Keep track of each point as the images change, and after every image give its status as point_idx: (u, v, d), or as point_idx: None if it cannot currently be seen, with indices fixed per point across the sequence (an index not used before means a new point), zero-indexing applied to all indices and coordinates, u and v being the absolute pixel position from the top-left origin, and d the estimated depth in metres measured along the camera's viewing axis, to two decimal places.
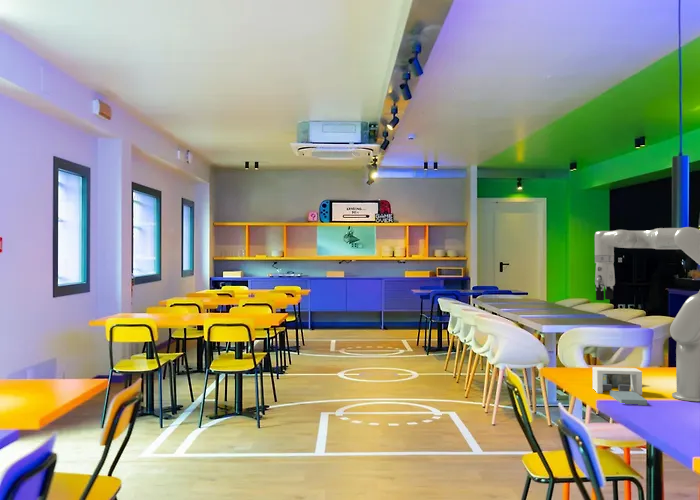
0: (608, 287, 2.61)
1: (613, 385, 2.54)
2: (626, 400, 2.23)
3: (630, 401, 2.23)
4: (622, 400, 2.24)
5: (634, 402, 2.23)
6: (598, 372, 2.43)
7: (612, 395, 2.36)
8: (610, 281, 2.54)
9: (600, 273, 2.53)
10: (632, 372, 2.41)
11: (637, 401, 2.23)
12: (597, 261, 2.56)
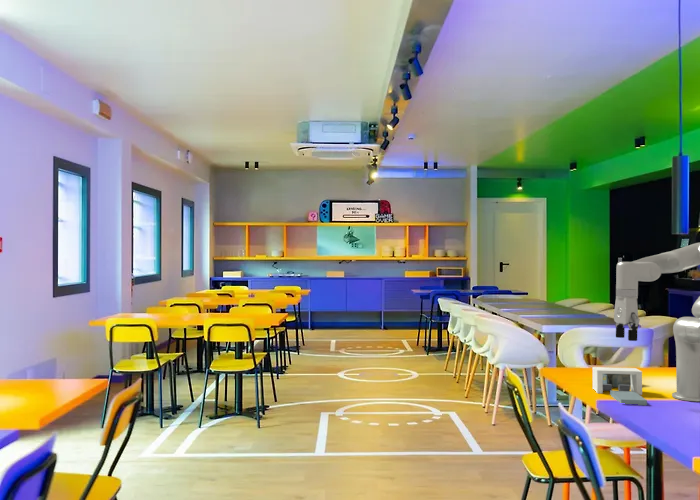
0: None
1: (613, 385, 2.54)
2: (626, 400, 2.23)
3: (630, 401, 2.23)
4: (622, 400, 2.24)
5: (634, 402, 2.23)
6: (598, 372, 2.43)
7: (612, 395, 2.36)
8: (618, 317, 2.29)
9: None
10: (632, 372, 2.41)
11: (637, 401, 2.23)
12: None
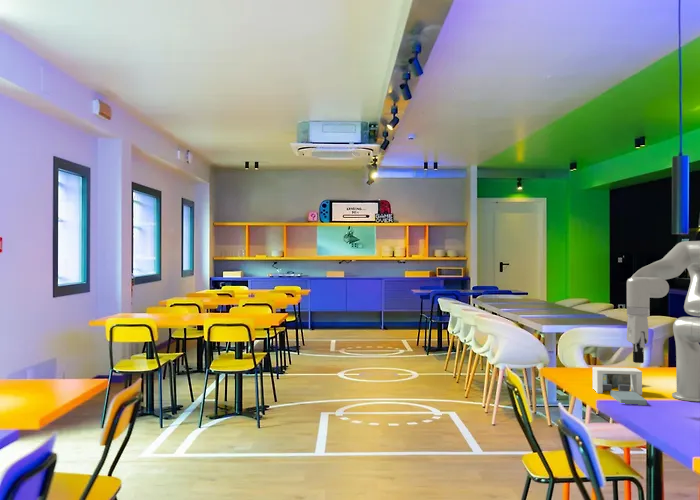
0: None
1: (613, 385, 2.54)
2: (625, 400, 2.24)
3: (629, 401, 2.23)
4: (621, 400, 2.24)
5: (633, 402, 2.23)
6: (598, 372, 2.43)
7: (612, 395, 2.36)
8: (629, 336, 2.19)
9: None
10: (632, 372, 2.41)
11: (637, 401, 2.23)
12: None
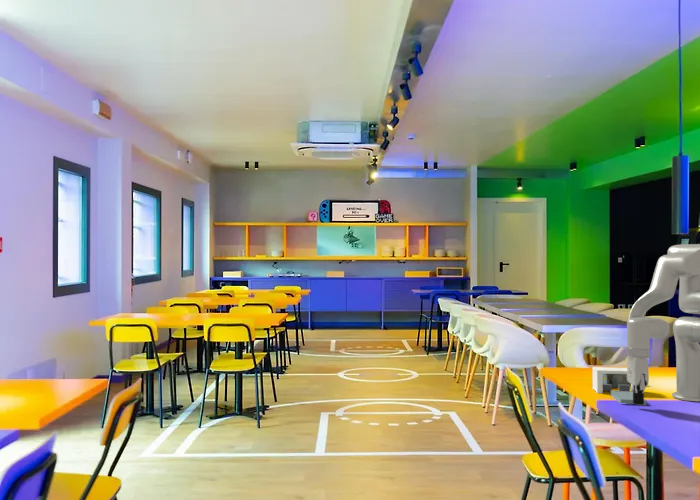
0: (640, 390, 2.16)
1: (614, 385, 2.54)
2: (625, 400, 2.24)
3: (629, 401, 2.23)
4: (621, 400, 2.24)
5: None
6: (598, 372, 2.43)
7: (612, 395, 2.36)
8: (629, 377, 2.19)
9: None
10: None
11: None
12: None
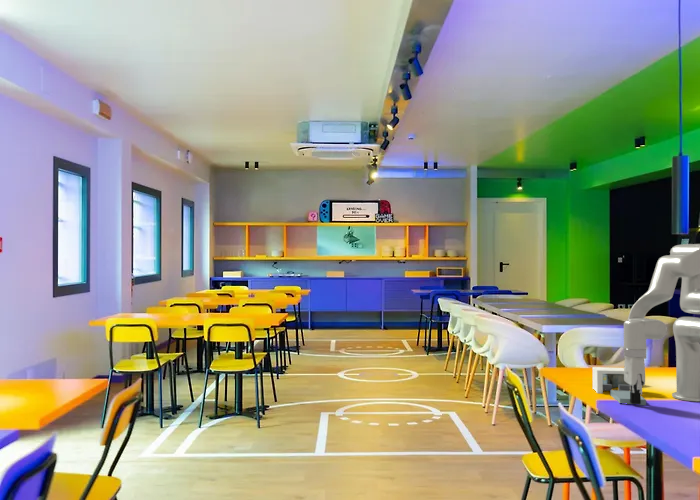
0: None
1: (614, 385, 2.53)
2: (625, 399, 2.24)
3: (629, 400, 2.24)
4: (621, 399, 2.24)
5: None
6: (598, 372, 2.43)
7: (612, 394, 2.36)
8: (626, 377, 2.23)
9: None
10: None
11: None
12: None
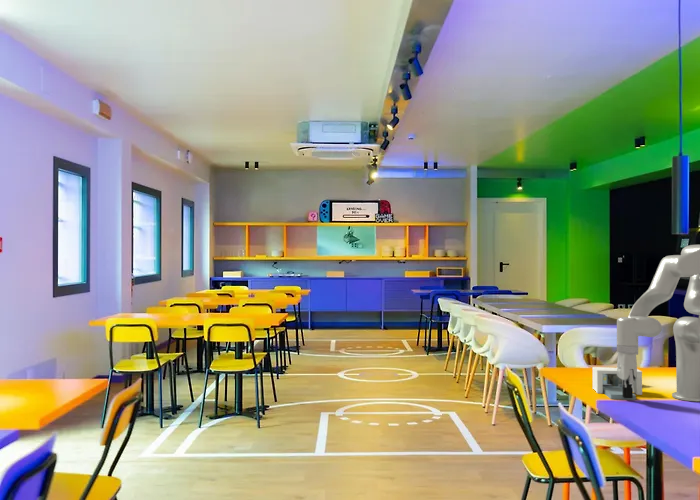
0: None
1: (614, 385, 2.53)
2: (615, 395, 2.32)
3: (619, 396, 2.32)
4: (612, 395, 2.32)
5: (623, 397, 2.32)
6: (598, 372, 2.43)
7: None
8: (619, 372, 2.31)
9: None
10: None
11: None
12: None
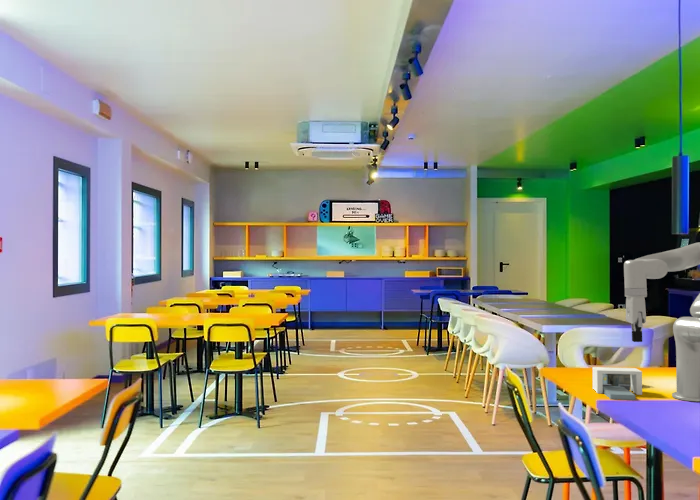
0: None
1: None
2: (615, 395, 2.32)
3: (619, 396, 2.32)
4: (611, 395, 2.32)
5: (623, 397, 2.32)
6: (598, 372, 2.43)
7: None
8: (628, 316, 2.27)
9: None
10: (632, 372, 2.41)
11: (625, 396, 2.32)
12: None
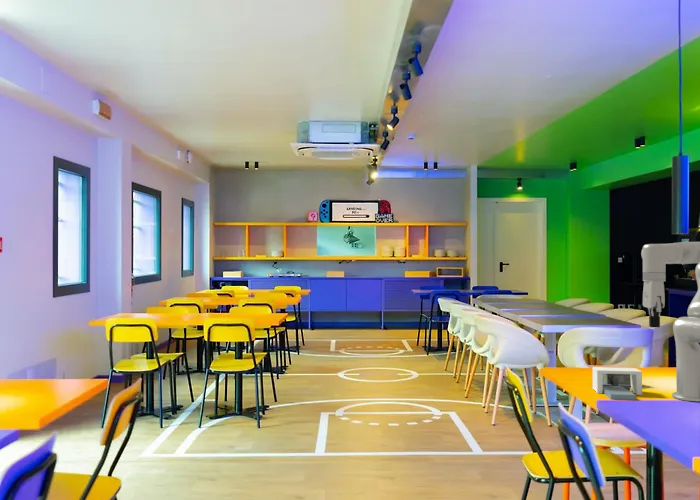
0: None
1: None
2: (615, 395, 2.32)
3: (619, 396, 2.32)
4: (611, 395, 2.32)
5: (623, 397, 2.32)
6: (598, 372, 2.43)
7: None
8: (645, 301, 2.23)
9: None
10: (632, 372, 2.41)
11: (626, 396, 2.32)
12: None
